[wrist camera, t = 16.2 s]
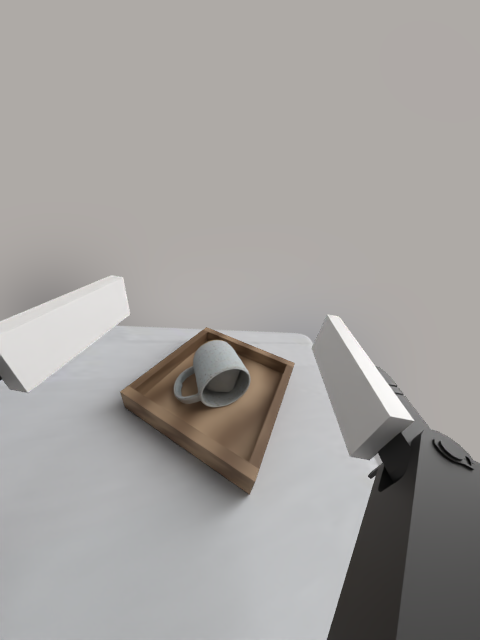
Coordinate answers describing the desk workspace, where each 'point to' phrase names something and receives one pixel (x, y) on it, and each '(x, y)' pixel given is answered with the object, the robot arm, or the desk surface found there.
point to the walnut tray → (214, 408)
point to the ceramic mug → (215, 375)
